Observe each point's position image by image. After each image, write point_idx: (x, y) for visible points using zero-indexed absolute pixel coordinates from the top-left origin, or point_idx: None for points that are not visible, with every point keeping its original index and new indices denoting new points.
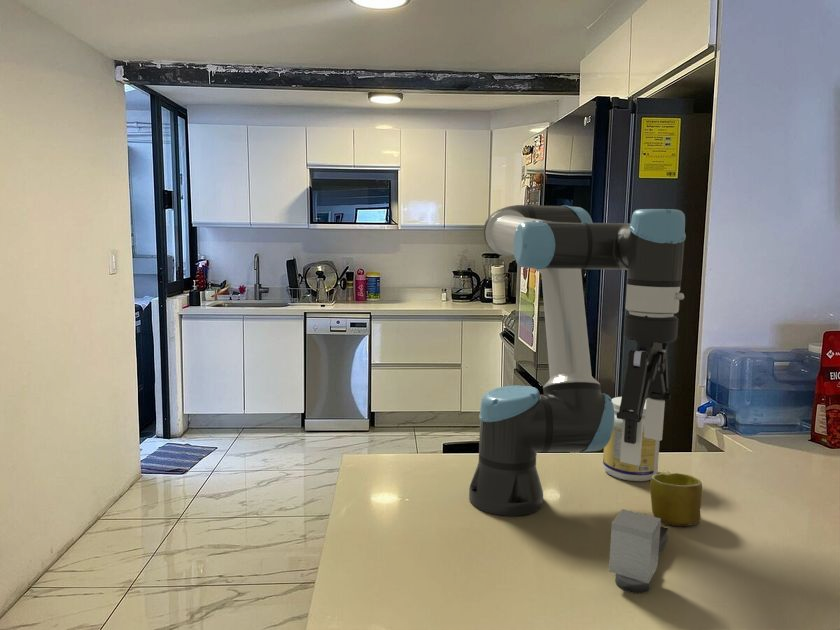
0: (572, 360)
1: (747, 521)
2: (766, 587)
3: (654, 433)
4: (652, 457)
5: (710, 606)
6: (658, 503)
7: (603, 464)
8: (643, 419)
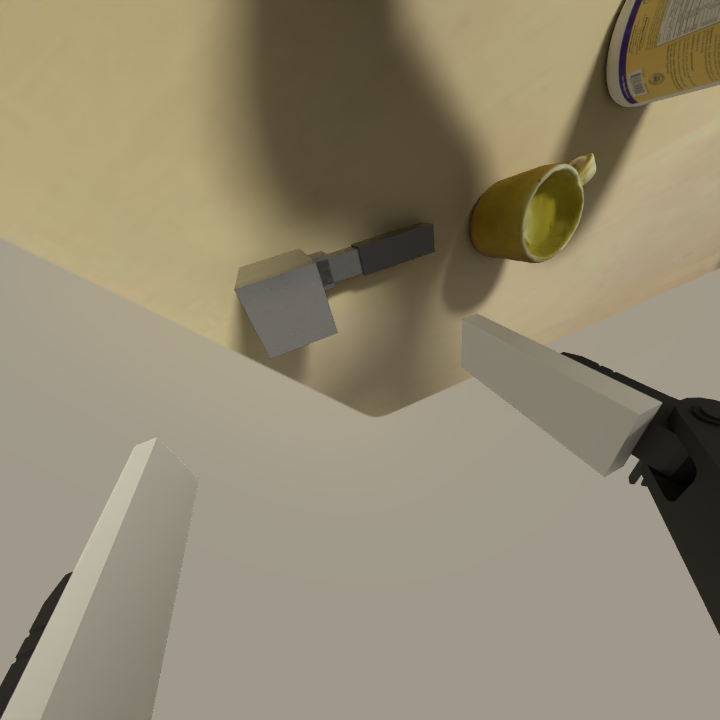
0: None
1: (525, 289)
2: (394, 369)
3: (476, 359)
4: (670, 90)
5: (316, 361)
6: (494, 204)
7: None
8: None
